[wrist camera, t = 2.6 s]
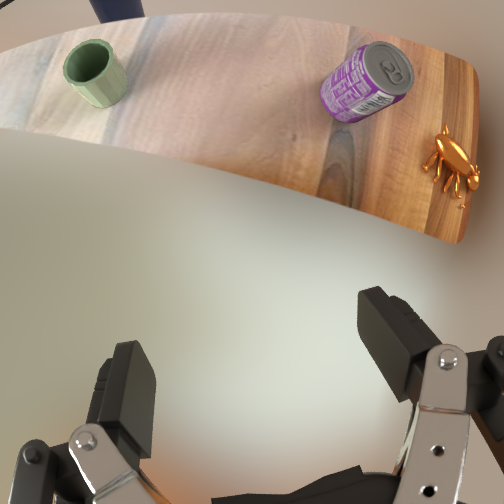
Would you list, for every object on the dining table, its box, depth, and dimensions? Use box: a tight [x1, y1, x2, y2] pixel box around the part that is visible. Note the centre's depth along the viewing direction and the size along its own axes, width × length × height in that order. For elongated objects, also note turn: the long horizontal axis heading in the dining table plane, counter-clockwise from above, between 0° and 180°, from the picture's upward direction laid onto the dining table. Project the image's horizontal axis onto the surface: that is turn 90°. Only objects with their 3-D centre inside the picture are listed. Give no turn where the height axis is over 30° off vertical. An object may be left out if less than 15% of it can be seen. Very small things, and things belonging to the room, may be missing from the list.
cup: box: [63, 39, 128, 108], centre depth 29 cm, size 6×6×8 cm
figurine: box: [423, 124, 479, 208], centre depth 40 cm, size 12×4×11 cm
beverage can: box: [320, 41, 414, 123], centre depth 32 cm, size 7×7×12 cm
